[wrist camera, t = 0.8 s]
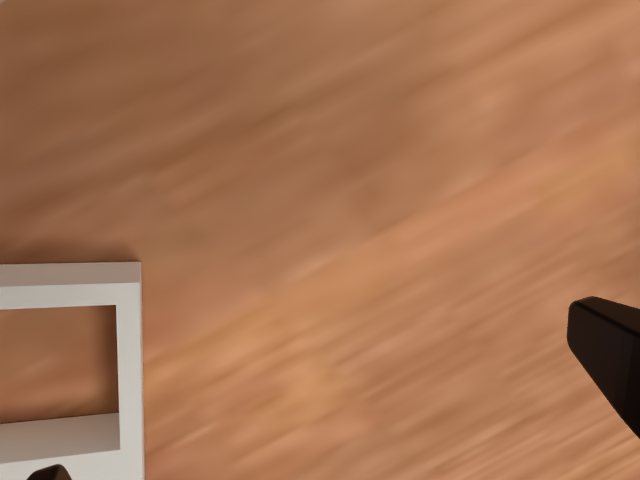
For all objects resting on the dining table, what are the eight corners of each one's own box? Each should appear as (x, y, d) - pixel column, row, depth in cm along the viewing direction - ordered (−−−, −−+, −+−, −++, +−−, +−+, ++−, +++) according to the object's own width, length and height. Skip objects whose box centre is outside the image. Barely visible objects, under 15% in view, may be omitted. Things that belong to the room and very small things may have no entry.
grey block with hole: (145, 510, 23) (144, 556, 20) (-46, 538, 21) (-71, 594, 18) (141, 261, 20) (139, 282, 18) (-77, 266, 18) (-111, 290, 16)
